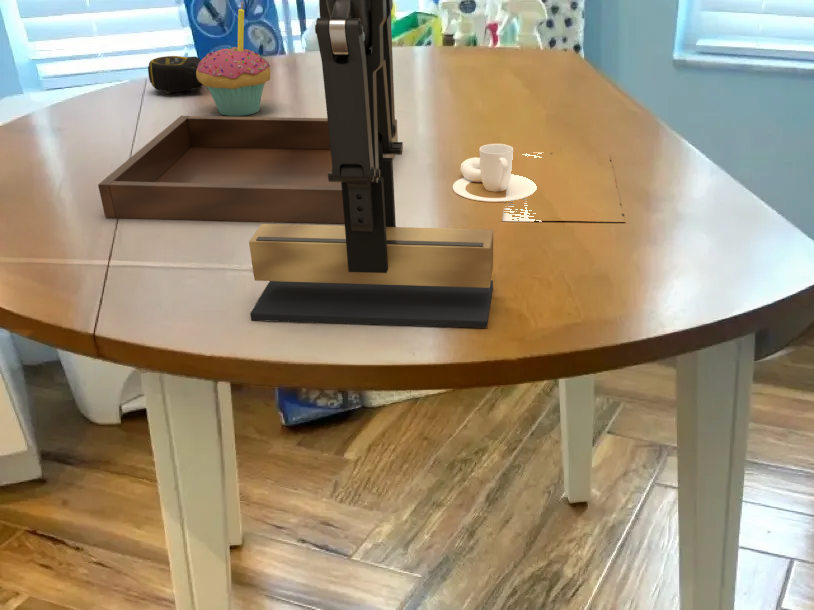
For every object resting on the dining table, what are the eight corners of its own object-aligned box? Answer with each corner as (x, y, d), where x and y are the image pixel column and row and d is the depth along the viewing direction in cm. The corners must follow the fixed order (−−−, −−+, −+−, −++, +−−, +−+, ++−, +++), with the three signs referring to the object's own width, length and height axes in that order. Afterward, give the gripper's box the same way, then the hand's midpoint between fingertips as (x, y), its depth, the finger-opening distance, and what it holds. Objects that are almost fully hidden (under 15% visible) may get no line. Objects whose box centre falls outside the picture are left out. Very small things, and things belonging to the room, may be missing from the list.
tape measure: (205, 95, 121) (200, 64, 119) (149, 98, 120) (143, 67, 118) (207, 83, 127) (202, 53, 125) (153, 85, 126) (148, 55, 124)
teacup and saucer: (455, 175, 95) (455, 133, 93) (536, 176, 95) (537, 134, 92) (449, 206, 88) (449, 161, 85) (537, 207, 87) (538, 162, 85)
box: (106, 223, 85) (97, 184, 83) (186, 148, 103) (180, 115, 101) (362, 230, 83) (360, 190, 81) (398, 153, 101) (397, 119, 99)
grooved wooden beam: (254, 280, 69) (248, 240, 67) (266, 261, 72) (261, 222, 70) (489, 288, 68) (490, 246, 66) (493, 268, 70) (493, 228, 69)
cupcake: (274, 100, 119) (262, -6, 112) (275, 119, 112) (262, 7, 105) (203, 104, 118) (187, -3, 111) (200, 123, 111) (182, 10, 104)
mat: (250, 320, 69) (249, 313, 68) (274, 280, 75) (273, 273, 74) (487, 328, 68) (487, 320, 67) (493, 287, 73) (493, 279, 73)
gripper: (391, -111, 49) (409, 310, 62) (429, -131, 62) (437, 218, 76) (246, -111, 49) (295, 307, 63) (315, -130, 63) (343, 216, 76)
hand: (373, 257), depth 69 cm, fingers closed on grooved wooden beam, 3 cm apart
